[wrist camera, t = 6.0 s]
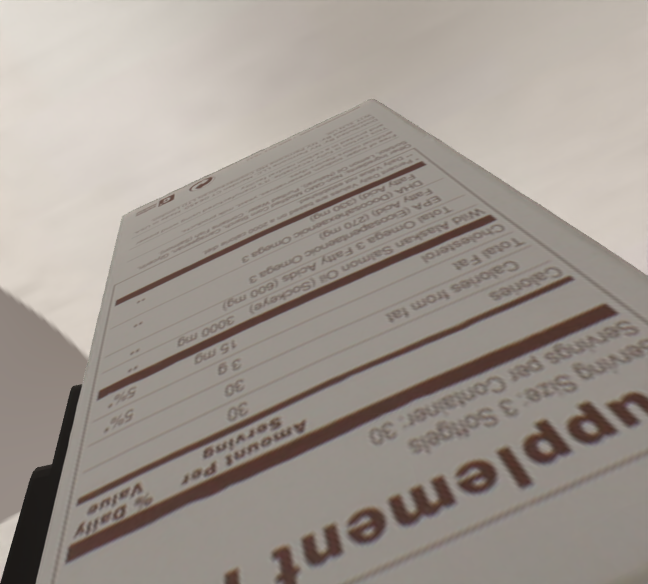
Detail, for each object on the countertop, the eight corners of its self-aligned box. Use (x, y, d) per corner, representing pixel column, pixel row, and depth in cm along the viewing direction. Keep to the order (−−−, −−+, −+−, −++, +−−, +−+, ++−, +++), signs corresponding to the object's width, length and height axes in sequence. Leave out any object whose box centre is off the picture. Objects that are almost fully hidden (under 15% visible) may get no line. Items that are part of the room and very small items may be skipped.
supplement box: (444, 305, 18) (830, 793, 7) (236, 399, 18) (324, 1024, 7) (377, 85, 14) (1015, 463, 3) (109, 206, 14) (-98, 969, 3)
